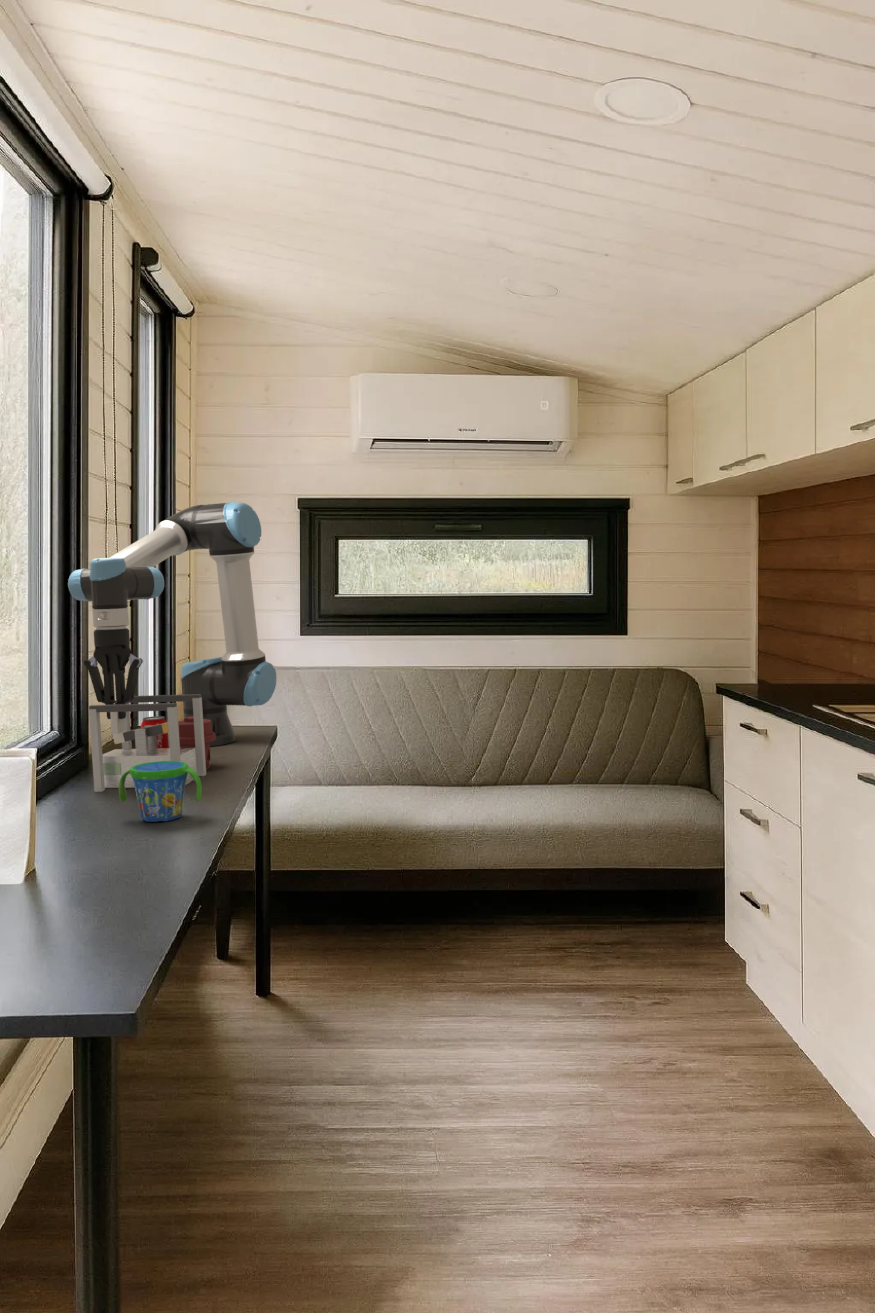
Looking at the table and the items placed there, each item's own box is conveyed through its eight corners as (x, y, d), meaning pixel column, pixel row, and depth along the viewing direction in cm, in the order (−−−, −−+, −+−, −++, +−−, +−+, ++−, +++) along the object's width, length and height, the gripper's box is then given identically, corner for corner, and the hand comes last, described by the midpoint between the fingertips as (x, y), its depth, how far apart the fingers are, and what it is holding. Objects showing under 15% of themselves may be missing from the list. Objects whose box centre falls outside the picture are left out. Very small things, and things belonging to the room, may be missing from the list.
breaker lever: (120, 741, 222) (118, 732, 222) (178, 729, 220) (176, 720, 220) (114, 744, 219) (112, 735, 219) (173, 731, 217) (171, 722, 217)
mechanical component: (183, 764, 241) (222, 763, 240) (168, 773, 231) (209, 772, 230) (180, 714, 240) (219, 713, 239) (164, 721, 230) (206, 719, 229)
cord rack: (127, 776, 230) (121, 696, 228) (206, 774, 227) (201, 694, 226) (94, 792, 213) (88, 706, 212) (179, 790, 211) (174, 704, 209)
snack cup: (212, 812, 191) (209, 760, 190) (188, 826, 180) (184, 771, 179) (138, 811, 194) (134, 760, 193) (110, 825, 183) (106, 771, 183)
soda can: (157, 769, 236) (154, 720, 235) (137, 768, 238) (134, 719, 237) (175, 764, 241) (172, 716, 240) (155, 763, 244) (152, 715, 243)
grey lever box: (117, 779, 226) (113, 725, 225) (197, 778, 224) (193, 723, 223) (98, 788, 217) (95, 732, 216) (182, 787, 215) (178, 730, 214)
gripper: (75, 629, 215) (81, 736, 217) (132, 628, 214) (138, 736, 216) (91, 627, 223) (97, 731, 225) (146, 626, 221) (152, 730, 223)
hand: (117, 733), depth 220 cm, fingers closed
